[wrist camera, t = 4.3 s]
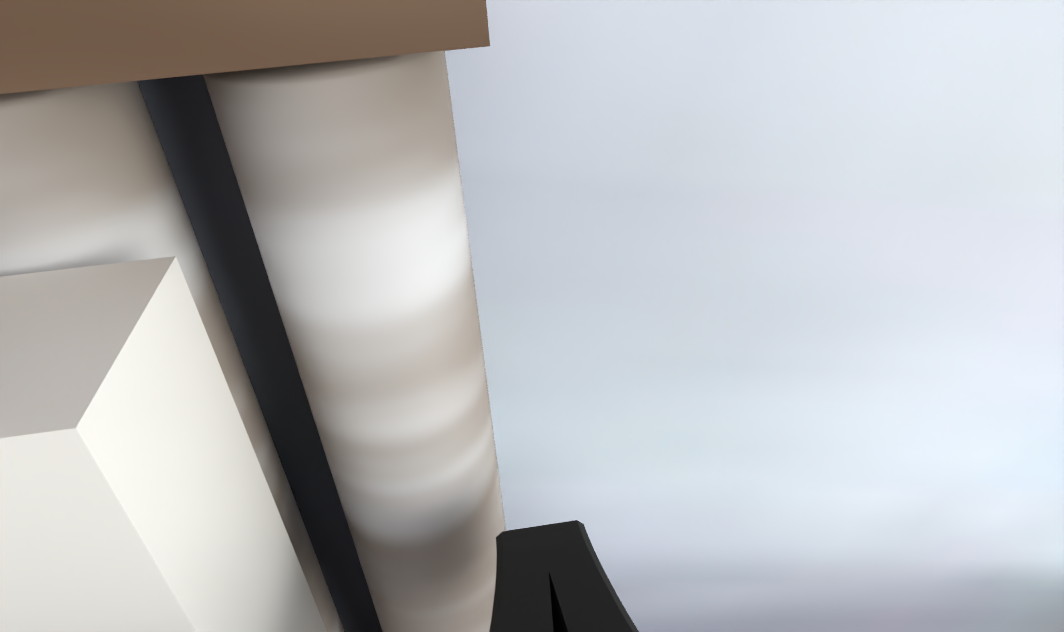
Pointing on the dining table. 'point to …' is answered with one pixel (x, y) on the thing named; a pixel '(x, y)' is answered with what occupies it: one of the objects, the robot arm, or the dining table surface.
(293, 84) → the roller track
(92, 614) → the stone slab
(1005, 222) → the dining table surface
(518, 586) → the robot arm
